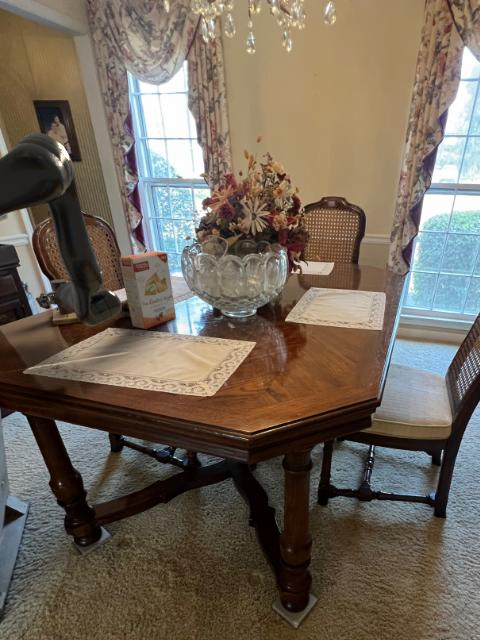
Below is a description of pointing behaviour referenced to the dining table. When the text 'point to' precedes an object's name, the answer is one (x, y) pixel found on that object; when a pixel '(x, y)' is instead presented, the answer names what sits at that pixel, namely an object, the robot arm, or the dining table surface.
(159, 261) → the cracker box
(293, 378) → the dining table surface
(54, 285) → the black piece
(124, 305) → the bison figurine
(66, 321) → the grid board
